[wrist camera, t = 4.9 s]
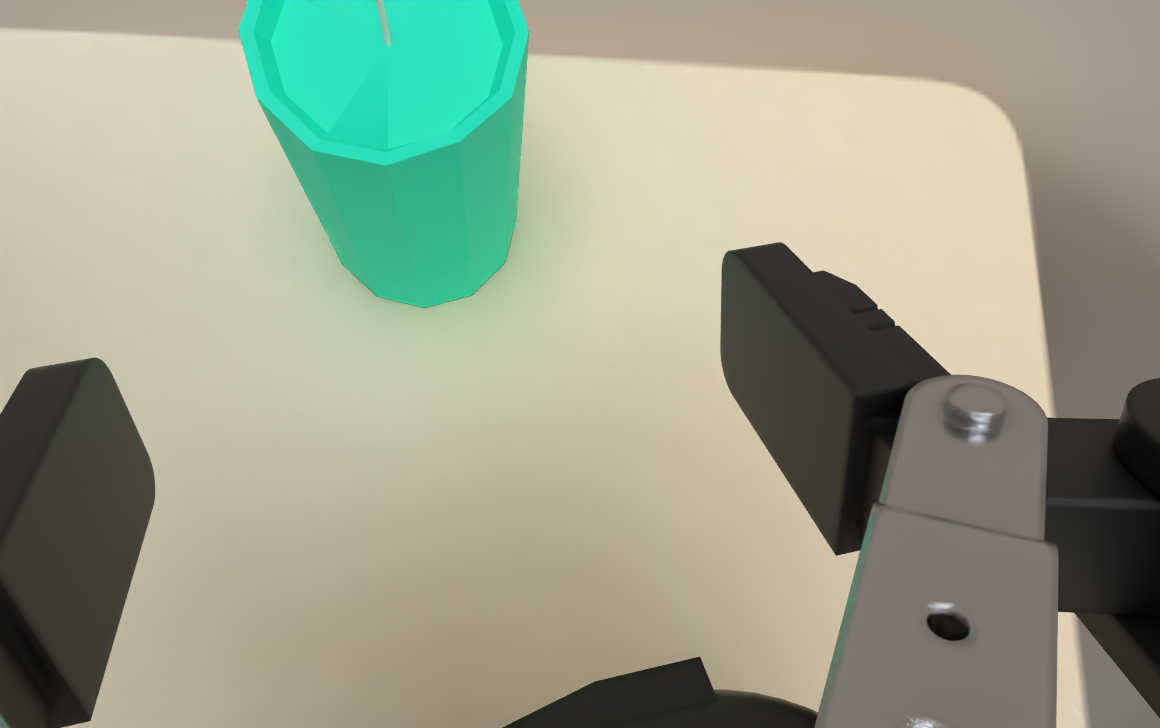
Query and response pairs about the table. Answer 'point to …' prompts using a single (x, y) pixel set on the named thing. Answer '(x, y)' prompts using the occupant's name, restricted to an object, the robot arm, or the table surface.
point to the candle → (399, 131)
